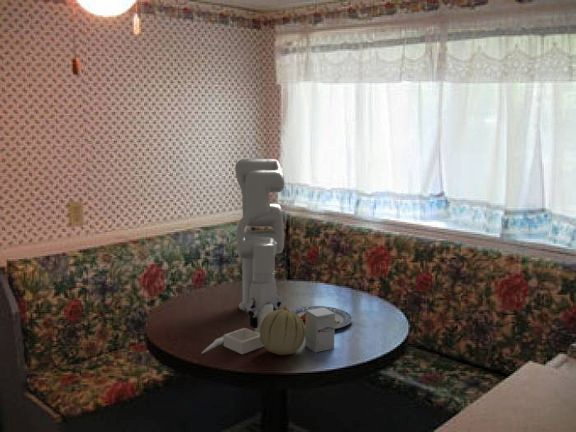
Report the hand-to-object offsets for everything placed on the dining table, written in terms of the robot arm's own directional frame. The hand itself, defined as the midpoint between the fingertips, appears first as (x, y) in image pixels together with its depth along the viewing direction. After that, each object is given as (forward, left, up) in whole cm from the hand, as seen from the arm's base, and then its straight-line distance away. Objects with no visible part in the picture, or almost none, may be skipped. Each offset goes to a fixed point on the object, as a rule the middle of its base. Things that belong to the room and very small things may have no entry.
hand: (263, 323), depth 204 cm
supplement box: (-5, +22, -4) cm, 23 cm away
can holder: (+12, +3, -4) cm, 13 cm away
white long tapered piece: (+19, -4, -4) cm, 20 cm away
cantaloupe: (+7, +17, -4) cm, 19 cm away
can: (0, 0, -4) cm, 4 cm away
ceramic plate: (-23, +5, -4) cm, 24 cm away
